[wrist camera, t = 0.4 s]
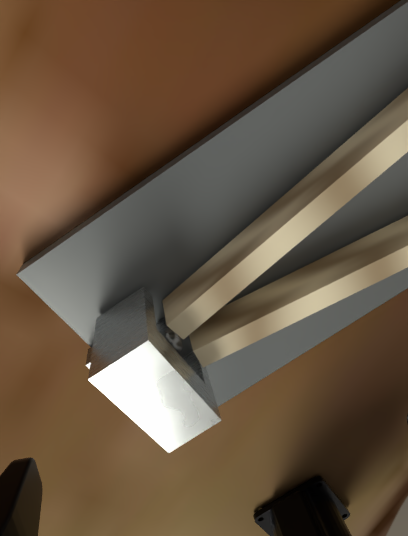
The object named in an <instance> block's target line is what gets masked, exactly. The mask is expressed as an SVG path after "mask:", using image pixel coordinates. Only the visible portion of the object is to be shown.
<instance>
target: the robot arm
mask: <svg viewBox="0 0 408 536" xmlns="http://www.w3.org/2000/svg"><path fill="white" fill-rule="evenodd" d="M407 423H408V415H407ZM41 501H42V482H41V479H40V475H39V472H38V469H37V466H36V462H35V460H34V459H33V458H24V459H18V460H14V461H13V462H11V463H10V464H9V465H8V467H7V468H6V469H5V470H4V472H3V473H2V474H1V475H0V536H38V529H39V520H40V510H41ZM349 516H350V513H349V511H348V509H347V508H346V506H345V505H344V504H343V503H342V501H341V500H340V499H339V498H338V496H337V495H336V494H335V493H334V491H333V490H332V489H331V488H330V486H329V485H328V484H327V483H326V482H325V480H324V479H323V478H322V477H321V476H317V477H314V478H313V479H311V480H309V481H308V482H306V483H304V484H303V485H301V486H299V487H298V488H296V489H294V490H292V491H291V492H289V493H287V494H286V495H284V496H282V497H281V498H279V499H277V500H276V501H274V502H272V503H270V504H269V505H267V506H265V507H264V508H262V509H260V510H259V511H257V512H256V513H254V520H255V522H256V523H257V524H258V525H259V526H260V527H261V528H262V529H263V530H264V531H265V532H266V533H267V534H269V535H270V536H351V534H350V532H349V530H348V528H347V526H346V524H345V522H344V520H345V519H347V518H348V517H349Z"/></svg>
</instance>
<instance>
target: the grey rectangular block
mask: <svg viewBox="0 0 408 536" xmlns="http://www.w3.org/2000/svg"><path fill="white" fill-rule="evenodd" d="M88 380H89V381H90V382H91V383H92V384H93V385H95V386H96V387H97V388H98V389H99V390H100V391H101V392H102V393H103V394H104V395H106V396H107V397H108V398H109V399H110V400H111V401H112V402H113V403H114V404H115V405H117V406H118V407H119V408H120V409H121V410H122V411H123V412H124V413H125V414H126V415H128V416H129V417H130V418H131V419H132V420H133V421H134V422H135V423H136V424H137V425H138V426H140V427H141V428H142V429H143V430H144V431H145V432H146V433H147V434H148V435H149V436H151V437H152V438H153V439H154V440H155V441H156V442H157V443H158V444H159V445H160V446H162V447H163V448H164V449H165V450H166V451H167V452H168V453H170V452H171V451H173V450H175V449H176V448H178V447H179V446H181V445H183V444H184V443H186V442H188V441H189V440H191V439H192V438H194V437H196V436H197V435H199V434H200V433H202V432H204V431H205V430H207V429H208V428H210V427H212V426H213V425H215V424H217V423H218V422H220V421H221V417H220V413H219V410H218V406H217V403H216V399H215V396H214V393H213V389H212V386H211V382H210V379H209V375H208V372H207V368H206V366H205V367H202V365H201V363H200V362H199V360H198V358H197V357H196V355H195V353H194V352H193V351H191V352H189V353H188V354H186V355H185V356H183V357H181V356H180V355H179V354H178V352H177V351H176V350H175V349H174V348H173V347H172V346H171V344H170V343H169V342H168V341H167V340H166V339H165V338H164V337H163V335H162V334H161V333H160V332H159V331H158V330H157V328H156V320H155V312H154V304H153V297H152V296H151V295H150V294H149V292H148V291H147V290H146V289H145V288H144V286H143V287H142V288H140V289H139V290H137V291H136V292H134V293H133V294H131V295H130V296H128V297H127V298H125V299H124V300H122V301H121V302H119V303H118V304H116V305H115V306H113V307H112V308H110V309H109V310H108V311H106V312H105V313H103V314H102V315H100V316H99V317H97V318H96V324H95V332H94V339H93V347H92V354H91V362H90V370H89V377H88Z"/></svg>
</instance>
